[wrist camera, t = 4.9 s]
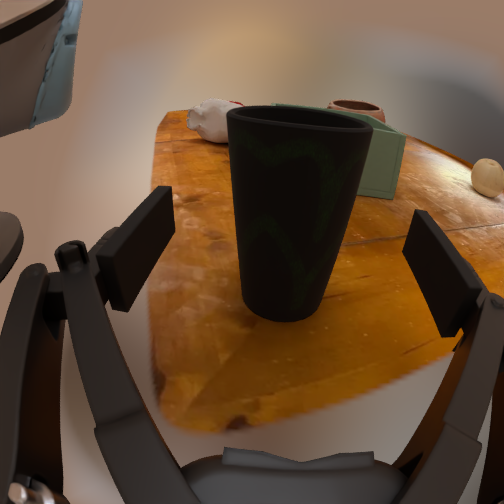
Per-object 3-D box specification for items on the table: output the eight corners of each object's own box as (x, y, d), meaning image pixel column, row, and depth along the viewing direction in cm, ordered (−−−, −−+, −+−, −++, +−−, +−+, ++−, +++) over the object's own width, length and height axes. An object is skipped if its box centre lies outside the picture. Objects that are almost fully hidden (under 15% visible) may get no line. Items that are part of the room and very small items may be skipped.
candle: (183, 138, 59) (246, 139, 66) (203, 148, 51) (273, 150, 58) (187, 96, 54) (252, 101, 62) (208, 98, 46) (281, 106, 54)
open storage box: (262, 185, 38) (265, 115, 33) (268, 151, 53) (271, 103, 48) (393, 199, 37) (406, 135, 32) (363, 162, 52) (370, 115, 47)
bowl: (314, 134, 70) (317, 95, 64) (335, 128, 81) (338, 96, 75) (375, 149, 62) (381, 107, 57) (387, 141, 73) (392, 107, 68)
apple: (498, 193, 47) (514, 170, 40) (487, 212, 45) (506, 190, 38) (472, 169, 50) (487, 145, 43) (460, 186, 48) (475, 161, 41)
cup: (313, 351, 17) (361, 137, 10) (204, 306, 20) (195, 114, 13) (347, 280, 22) (380, 121, 16) (258, 251, 25) (267, 103, 19)
